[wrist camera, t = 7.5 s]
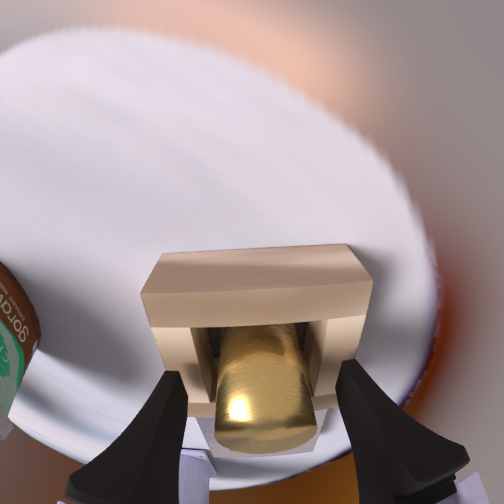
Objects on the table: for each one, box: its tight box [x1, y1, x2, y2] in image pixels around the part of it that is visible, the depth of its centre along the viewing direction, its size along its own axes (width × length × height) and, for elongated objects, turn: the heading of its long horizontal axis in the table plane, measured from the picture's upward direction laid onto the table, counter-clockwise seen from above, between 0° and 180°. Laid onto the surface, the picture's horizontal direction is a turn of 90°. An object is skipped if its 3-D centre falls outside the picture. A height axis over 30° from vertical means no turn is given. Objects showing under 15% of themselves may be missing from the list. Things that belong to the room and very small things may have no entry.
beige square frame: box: [140, 244, 374, 418], centre depth 13 cm, size 9×9×4 cm
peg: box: [214, 323, 318, 454], centre depth 12 cm, size 4×4×7 cm
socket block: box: [196, 409, 328, 458], centre depth 18 cm, size 9×9×2 cm
